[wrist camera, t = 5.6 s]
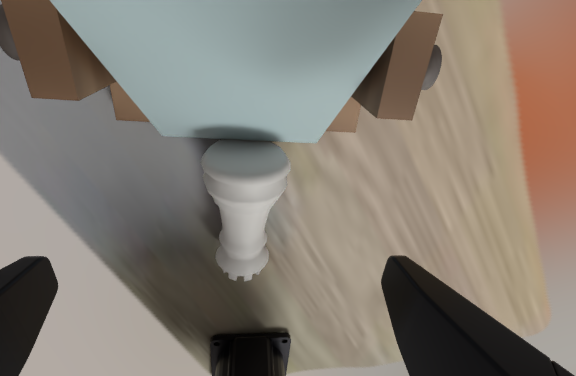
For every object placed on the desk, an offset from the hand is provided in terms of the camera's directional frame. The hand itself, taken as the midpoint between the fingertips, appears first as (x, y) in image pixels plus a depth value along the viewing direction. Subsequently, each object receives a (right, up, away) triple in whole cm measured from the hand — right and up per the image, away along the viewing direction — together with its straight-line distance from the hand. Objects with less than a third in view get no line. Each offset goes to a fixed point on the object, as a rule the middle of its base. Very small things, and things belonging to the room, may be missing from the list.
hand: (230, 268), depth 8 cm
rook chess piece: (-1, +4, +7) cm, 8 cm away
